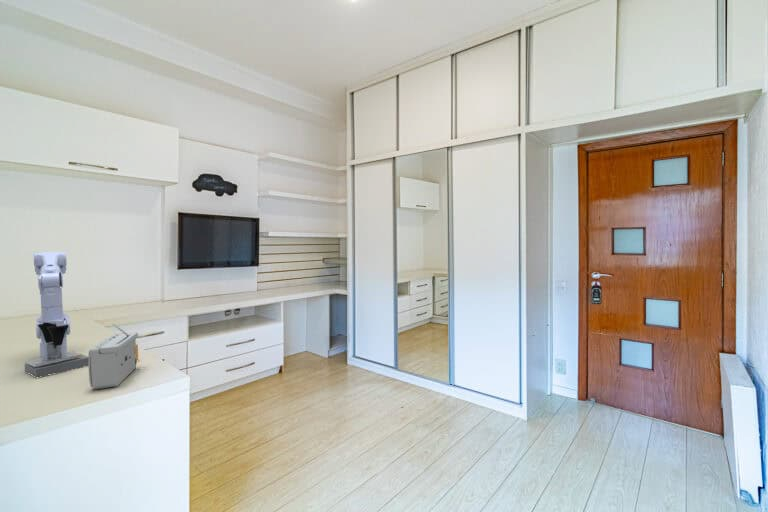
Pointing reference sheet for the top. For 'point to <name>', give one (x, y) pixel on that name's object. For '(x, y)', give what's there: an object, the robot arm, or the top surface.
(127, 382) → the top surface
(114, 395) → the top surface
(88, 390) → the top surface
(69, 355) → the pan
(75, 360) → the base
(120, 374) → the stereo radio cassette player
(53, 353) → the cylinder
